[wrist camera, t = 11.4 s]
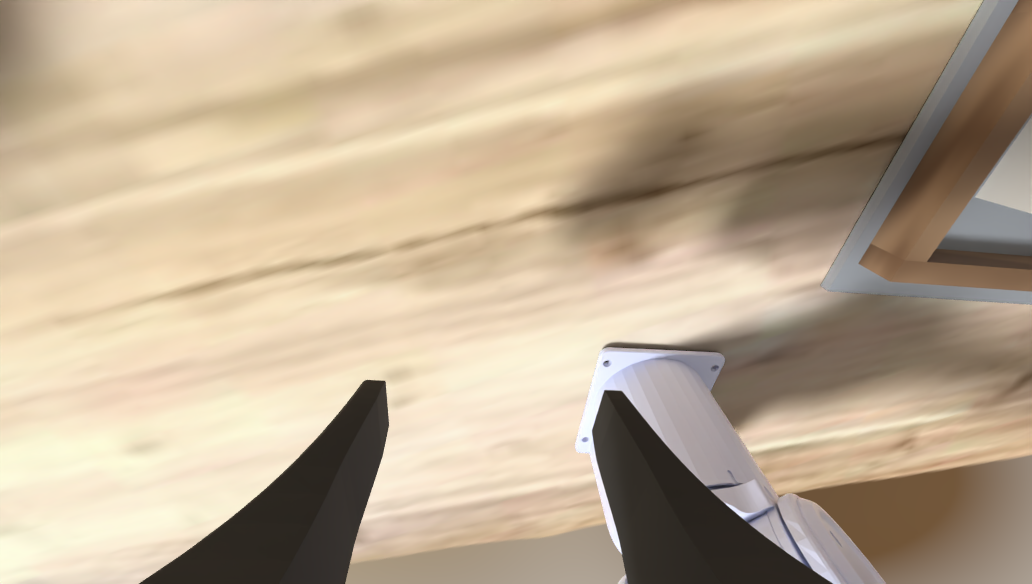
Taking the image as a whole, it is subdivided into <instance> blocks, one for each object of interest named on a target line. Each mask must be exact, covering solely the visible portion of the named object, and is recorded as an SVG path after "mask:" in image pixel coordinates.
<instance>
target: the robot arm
mask: <svg viewBox="0 0 1032 584" xmlns="http://www.w3.org/2000/svg"><path fill="white" fill-rule="evenodd" d="M607 360H609V361H608V362H606V363H604V362H605V361H607ZM724 363H725V357H724V356H723V355H722V354H721V353H718V352H697V351H676V350H655V349H634V348H613V347H608V348H604V349H602V350H601V352H600V354H599V357H598V361H597V365H596V368H595V372H594V376H593V380H592V383H591V387H590V391H589V394H588V398H587V402H586V406H585V409H584V413H583V417H582V420H581V424H580V428H579V432H578V435H577V439H576V443H575V449H576V451H577V452H579V453H590V458H591V462H592V466H593V470H594V474H595V478H596V482H597V486H598V490H599V494H600V498H601V502H602V506H603V510H604V514H605V519H606V523H607V527H608V530H609V533H610V535H611V538H612V540H613V542H614V544H615V545H616V547H617V548H618V550H619V551H620V553H621V554H622V557H623V562H624V567H625V571H626V575H625V576H623V577H622V578H621V579H620V581H619V582H618V584H886V583H885V581H884V580H883V579H882V577H881V576H880V575H879V574H878V572H877V571H876V570H875V568H874V567H873V566H872V565H871V563H870V562H869V561H868V560H867V558H866V557H865V556H864V555H863V554H862V552H861V551H860V550H859V549H858V547H857V546H856V545H855V544H854V543H853V541H852V540H851V539H850V538H849V537H848V536H847V535H846V533H845V532H844V531H843V530H842V529H841V528H840V526H839V525H838V524H837V523H836V522H835V521H834V520H833V519H832V518H831V517H830V516H829V515H828V514H827V513H826V512H825V511H824V510H823V509H822V508H821V507H820V506H819V505H817V504H816V503H815V502H812V501H809V500H806V499H803V498H800V497H798V496H797V495H795V494H792V493H788V494H786V495H784V496H782V497H779V496H778V495H777V494H776V492H775V491H774V489H773V488H772V486H771V484H770V483H769V481H768V480H767V478H766V477H765V475H764V474H763V472H762V471H761V469H760V468H759V466H758V465H757V463H756V461H755V460H754V458H753V457H752V455H751V454H750V452H749V451H748V449H747V448H746V446H745V445H744V443H743V442H742V440H741V438H740V437H739V435H738V434H737V432H736V431H735V429H734V428H733V426H732V425H731V423H730V422H729V420H728V418H727V417H726V415H725V414H724V412H723V411H722V409H721V408H720V406H719V405H718V403H717V402H716V400H715V399H714V397H713V395H712V394H711V390H712V387H713V385H714V383H715V381H716V379H717V377H718V375H719V373H720V371H721V369H722V367H723V365H724ZM714 365H715V366H714ZM712 366H713V367H712ZM388 427H389V419H388V407H387V394H386V382H385V381H376V380H365V381H364V382H363V383H362V384H361V385H360V387H359V388H358V389H357V391H356V392H355V393H354V395H353V396H352V397H351V398H350V400H349V401H348V402H347V404H346V405H345V406H344V407H343V409H342V410H341V411H340V412H339V413H338V415H337V416H336V417H335V418H334V419H333V420H332V422H331V423H330V424H329V425H328V426H327V427H326V429H325V430H324V431H323V432H322V433H321V434H320V435H319V436H318V438H317V439H316V440H315V441H314V442H313V443H312V444H311V445H310V446H309V447H308V448H307V449H306V450H305V451H304V452H303V453H302V454H301V455H300V457H299V458H298V459H297V460H296V461H295V462H294V463H293V464H292V465H291V466H290V467H289V468H287V469H286V470H285V471H284V472H283V473H282V474H281V475H280V476H279V477H278V478H277V479H276V480H275V481H274V482H272V483H271V484H270V485H269V486H268V487H267V488H266V489H265V490H264V491H262V492H261V493H260V494H259V495H258V496H257V497H255V498H254V499H253V500H252V501H251V502H250V503H248V504H247V505H246V506H245V507H244V508H242V509H241V510H240V511H239V512H238V513H236V514H235V515H234V516H233V517H231V518H230V519H229V520H228V521H226V522H225V523H224V524H222V525H221V526H220V527H218V528H217V529H216V530H214V531H213V532H212V533H210V534H209V535H208V536H206V537H205V538H204V539H202V540H201V541H200V542H198V543H197V544H196V545H194V546H193V547H192V548H190V549H189V550H188V551H186V552H185V553H183V554H182V555H181V556H179V557H178V558H176V559H175V560H173V561H172V562H170V563H169V564H167V565H166V566H164V567H163V568H161V569H160V570H158V571H157V572H156V573H154V574H153V575H151V576H150V577H148V578H147V579H145V580H144V581H142V582H141V583H139V584H345V582H346V577H347V573H348V568H349V564H350V560H351V556H352V552H353V547H354V543H355V540H356V536H357V533H358V529H359V526H360V523H361V520H362V517H363V514H364V511H365V508H366V505H367V502H368V499H369V496H370V493H371V490H372V487H373V484H374V481H375V478H376V475H377V471H378V468H379V465H380V462H381V459H382V456H383V451H384V447H385V442H386V437H387V432H388Z"/></svg>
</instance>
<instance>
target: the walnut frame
mask: <svg viewBox="0 0 1032 584" xmlns="http://www.w3.org/2000/svg"><path fill="white" fill-rule="evenodd" d="M1031 113H1032V0H1018V2H1017V4H1016V5H1015V7H1014V9H1013V10H1012V12H1011V13H1010V15H1009V17H1008V18H1007V20H1006V22H1005V23H1004V25H1003V27H1002V28H1001V30H1000V32H999V33H998V35H997V36H996V38H995V40H994V41H993V43H992V45H991V46H990V48H989V50H988V51H987V53H986V55H985V56H984V58H983V59H982V61H981V63H980V64H979V66H978V68H977V69H976V71H975V73H974V74H973V76H972V78H971V79H970V81H969V82H968V84H967V86H966V87H965V89H964V91H963V92H962V94H961V96H960V97H959V99H958V101H957V102H956V104H955V105H954V107H953V109H952V110H951V112H950V114H949V115H948V117H947V119H946V120H945V122H944V124H943V125H942V127H941V128H940V130H939V132H938V133H937V135H936V137H935V138H934V140H933V142H932V143H931V145H930V147H929V148H928V150H927V151H926V153H925V155H924V156H923V158H922V160H921V161H920V163H919V165H918V166H917V168H916V170H915V171H914V173H913V174H912V176H911V178H910V179H909V181H908V183H907V184H906V186H905V188H904V189H903V191H902V193H901V194H900V196H899V197H898V199H897V201H896V202H895V204H894V206H893V207H892V209H891V211H890V212H889V214H888V216H887V217H886V219H885V220H884V222H883V224H882V225H881V227H880V229H879V230H878V232H877V234H876V235H875V237H874V239H873V240H872V242H871V243H870V245H869V247H868V248H867V250H866V252H865V253H864V255H863V257H862V258H861V260H860V262H859V263H858V264H859V265H861V266H863V267H865V268H867V269H868V270H870V271H872V272H874V273H875V274H877V275H879V276H881V277H883V278H884V279H886V280H888V281H890V282H900V283H914V284H929V285H943V286H958V287H972V288H986V289H1001V290H1015V291H1030V292H1032V256H1022V255H1009V254H996V253H984V252H971V251H959V250H946V249H936V248H937V247H938V245H939V244H940V242H941V241H942V240H943V238H944V237H945V235H946V234H947V232H948V231H949V230H950V228H951V227H952V225H953V224H954V223H955V221H956V220H957V218H958V217H959V215H960V214H961V213H962V211H963V210H964V208H965V207H966V206H967V204H968V203H969V201H970V200H971V198H972V197H973V196H974V194H975V193H976V191H977V190H978V189H979V187H980V186H981V184H982V183H983V181H984V180H985V179H986V177H987V176H988V174H989V173H990V172H991V170H992V169H993V167H994V166H995V164H996V163H997V162H998V160H999V159H1000V157H1001V156H1002V155H1003V153H1004V152H1005V150H1006V149H1007V147H1008V146H1009V145H1010V143H1011V142H1012V140H1013V139H1014V138H1015V136H1016V135H1017V133H1018V132H1019V130H1020V129H1021V128H1022V126H1023V125H1024V123H1025V122H1026V121H1027V119H1028V118H1029V116H1030V115H1031Z"/></svg>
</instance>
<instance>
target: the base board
mask: <svg viewBox="0 0 1032 584" xmlns="http://www.w3.org/2000/svg"><path fill="white" fill-rule="evenodd" d="M1017 2H1018V0H984V1H983V3H982V4H981V6H980V8H979V10H978V11H977V13H976V15H975V17H974V18H973V20H972V22H971V24H970V25H969V27H968V29H967V31H966V32H965V34H964V36H963V38H962V39H961V41H960V43H959V45H958V46H957V48H956V50H955V52H954V53H953V55H952V57H951V59H950V60H949V62H948V64H947V66H946V67H945V69H944V71H943V73H942V74H941V76H940V78H939V80H938V81H937V83H936V85H935V87H934V88H933V90H932V92H931V94H930V95H929V97H928V99H927V100H926V102H925V104H924V106H923V107H922V109H921V111H920V113H919V114H918V116H917V118H916V120H915V121H914V123H913V125H912V127H911V128H910V130H909V132H908V134H907V135H906V137H905V139H904V141H903V142H902V144H901V146H900V148H899V149H898V151H897V153H896V155H895V156H894V158H893V160H892V162H891V163H890V165H889V167H888V169H887V170H886V172H885V174H884V176H883V177H882V179H881V181H880V183H879V184H878V186H877V188H876V190H875V191H874V193H873V195H872V197H871V198H870V200H869V202H868V204H867V205H866V207H865V209H864V211H863V212H862V214H861V216H860V218H859V219H858V221H857V223H856V225H855V226H854V228H853V230H852V232H851V233H850V235H849V237H848V239H847V240H846V242H845V244H844V246H843V247H842V249H841V251H840V253H839V254H838V256H837V258H836V259H835V261H834V263H833V265H832V266H831V268H830V270H829V272H828V273H827V275H826V277H825V279H824V280H823V282H822V284H821V287H823V288H824V289H826V290H827V291H832V292H847V293H862V294H878V295H893V296H908V297H923V298H939V299H954V300H969V301H984V302H999V303H1015V304H1030V305H1032V292H1030V291H1015V290H1001V289H986V288H972V287H958V286H943V285H929V284H914V283H900V282H890V281H888V280H886V279H884V278H883V277H881V276H879V275H877V274H875V273H874V272H872V271H870V270H868V269H867V268H865V267H863V266H861V265H859V264H858V263H859V262H860V260H861V258H862V257H863V255H864V253H865V252H866V250H867V248H868V247H869V245H870V243H871V242H872V240H873V239H874V237H875V235H876V234H877V232H878V230H879V229H880V227H881V225H882V224H883V222H884V220H885V219H886V217H887V216H888V214H889V212H890V211H891V209H892V207H893V206H894V204H895V202H896V201H897V199H898V197H899V196H900V194H901V193H902V191H903V189H904V188H905V186H906V184H907V183H908V181H909V179H910V178H911V176H912V174H913V173H914V171H915V170H916V168H917V166H918V165H919V163H920V161H921V160H922V158H923V156H924V155H925V153H926V151H927V150H928V148H929V147H930V145H931V143H932V142H933V140H934V138H935V137H936V135H937V133H938V132H939V130H940V128H941V127H942V125H943V124H944V122H945V120H946V119H947V117H948V115H949V114H950V112H951V110H952V109H953V107H954V105H955V104H956V102H957V101H958V99H959V97H960V96H961V94H962V92H963V91H964V89H965V87H966V86H967V84H968V82H969V81H970V79H971V78H972V76H973V74H974V73H975V71H976V69H977V68H978V66H979V64H980V63H981V61H982V59H983V58H984V56H985V55H986V53H987V51H988V50H989V48H990V46H991V45H992V43H993V41H994V40H995V38H996V36H997V35H998V33H999V32H1000V30H1001V28H1002V27H1003V25H1004V23H1005V22H1006V20H1007V18H1008V17H1009V15H1010V13H1011V12H1012V10H1013V9H1014V7H1015V5H1016V4H1017ZM1031 117H1032V113H1031V115H1030V116H1029V118H1028V119H1027V121H1026V122H1025V123H1024V125H1023V126H1022V128H1021V129H1020V130H1019V132H1018V133H1017V135H1016V136H1015V138H1014V139H1013V140H1012V142H1011V143H1010V145H1009V146H1008V147H1007V149H1006V150H1005V152H1004V153H1003V155H1002V156H1001V157H1000V159H999V160H998V162H997V163H996V164H995V166H994V167H993V169H992V170H991V172H990V173H989V174H988V176H987V177H986V179H985V180H984V181H983V183H982V184H981V186H980V187H979V189H978V190H977V191H976V193H975V194H974V196H973V197H972V198H971V200H970V201H969V203H968V204H967V206H966V207H965V208H964V210H963V211H962V213H961V214H960V215H959V217H958V218H957V220H956V221H955V223H954V224H953V225H952V227H951V228H950V230H949V231H948V232H947V234H946V235H945V237H944V238H943V240H942V241H941V242H940V244H939V245H938V247H937V248H936V249H946V250H959V251H971V252H984V253H996V254H1009V255H1022V256H1032V214H1031V213H1027V212H1024V211H1020V210H1017V209H1014V208H1010V207H1007V206H1003V205H1000V204H996V203H993V202H990V201H986V200H983V199H979V198H976V197H975V196H976V195H977V194H978V192H979V191H980V189H981V188H982V186H983V185H984V184H985V182H986V181H987V179H988V178H989V176H990V175H991V174H992V172H993V171H994V169H995V168H996V167H997V165H998V164H999V162H1000V161H1001V159H1002V158H1003V157H1004V155H1005V154H1006V152H1007V151H1008V150H1009V148H1010V147H1011V145H1012V144H1013V142H1014V141H1015V140H1016V138H1017V137H1018V135H1019V134H1020V133H1021V131H1022V130H1023V128H1024V127H1025V125H1026V124H1027V123H1028V121H1029V120H1030V118H1031Z"/></svg>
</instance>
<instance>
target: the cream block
mask: <svg viewBox="0 0 1032 584" xmlns="http://www.w3.org/2000/svg"><path fill="white" fill-rule="evenodd" d="M975 197H976V198H979V199H983V200H986V201H990V202H993V203H996V204H1000V205H1003V206H1007V207H1010V208H1014V209H1017V210H1020V211H1024V212H1027V213H1031V214H1032V117H1031V118H1030V120H1029V121H1028V123H1027V124H1026V125H1025V127H1024V128H1023V130H1022V131H1021V133H1020V134H1019V135H1018V137H1017V138H1016V140H1015V141H1014V142H1013V144H1012V145H1011V147H1010V148H1009V150H1008V151H1007V152H1006V154H1005V155H1004V157H1003V158H1002V159H1001V161H1000V162H999V164H998V165H997V167H996V168H995V169H994V171H993V172H992V174H991V175H990V176H989V178H988V179H987V181H986V182H985V184H984V185H983V186H982V188H981V189H980V191H979V192H978V194H977V195H976V196H975Z"/></svg>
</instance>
